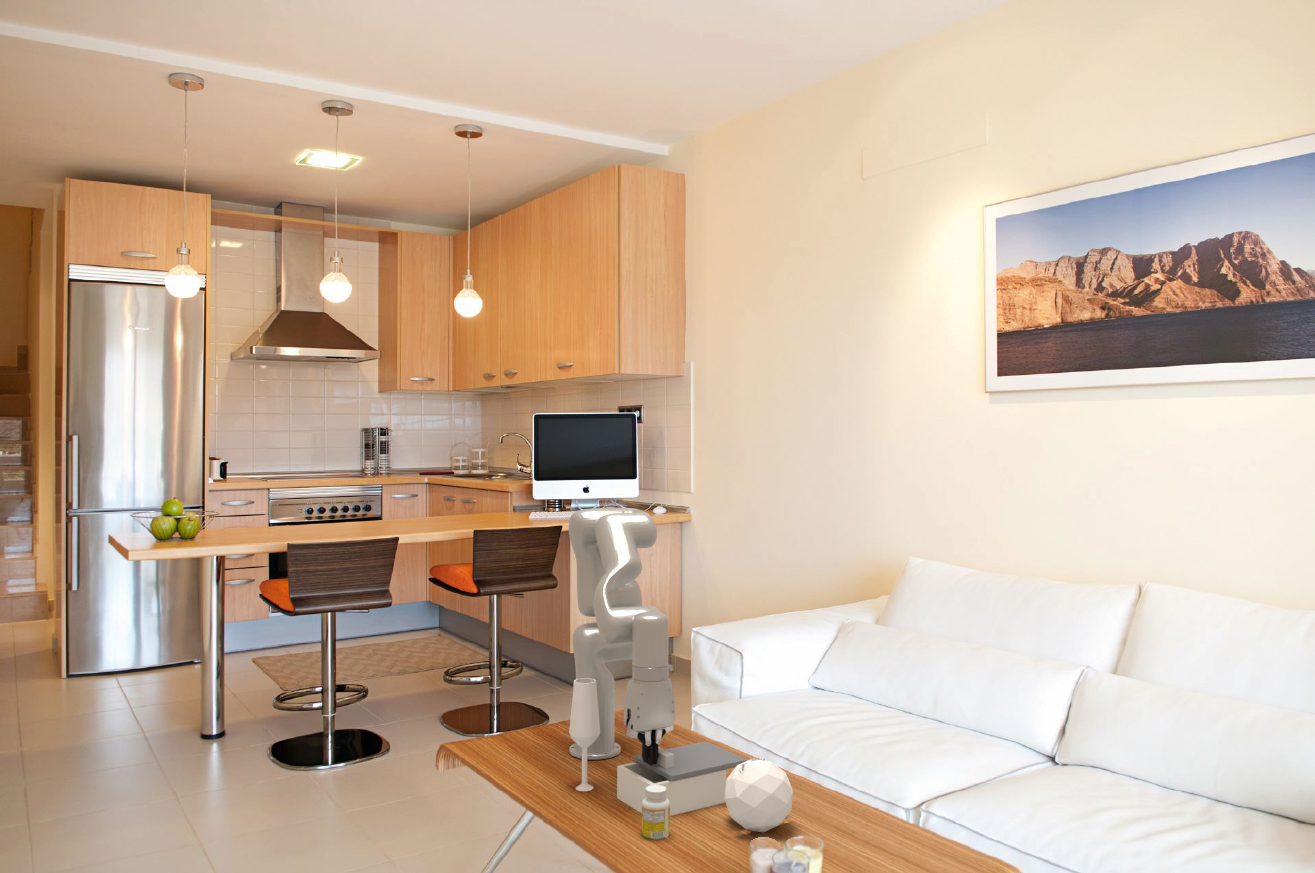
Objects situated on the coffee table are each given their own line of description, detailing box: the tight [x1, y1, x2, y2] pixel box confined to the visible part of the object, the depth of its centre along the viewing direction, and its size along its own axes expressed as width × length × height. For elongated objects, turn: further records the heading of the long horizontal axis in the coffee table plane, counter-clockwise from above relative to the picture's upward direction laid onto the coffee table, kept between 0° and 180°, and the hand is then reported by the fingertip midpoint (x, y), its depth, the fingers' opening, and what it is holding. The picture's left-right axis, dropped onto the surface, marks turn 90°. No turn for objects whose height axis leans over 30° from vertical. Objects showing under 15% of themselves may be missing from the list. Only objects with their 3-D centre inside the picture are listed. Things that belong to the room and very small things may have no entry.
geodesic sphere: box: [724, 756, 794, 833], centre depth 182 cm, size 14×14×14 cm
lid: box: [632, 741, 748, 781], centre depth 197 cm, size 15×19×4 cm
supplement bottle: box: [641, 785, 671, 841], centre depth 177 cm, size 5×5×10 cm
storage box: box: [616, 761, 727, 817], centre depth 194 cm, size 14×18×8 cm
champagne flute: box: [568, 678, 600, 792], centre depth 201 cm, size 7×7×24 cm
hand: (650, 762), depth 191 cm, fingers closed
